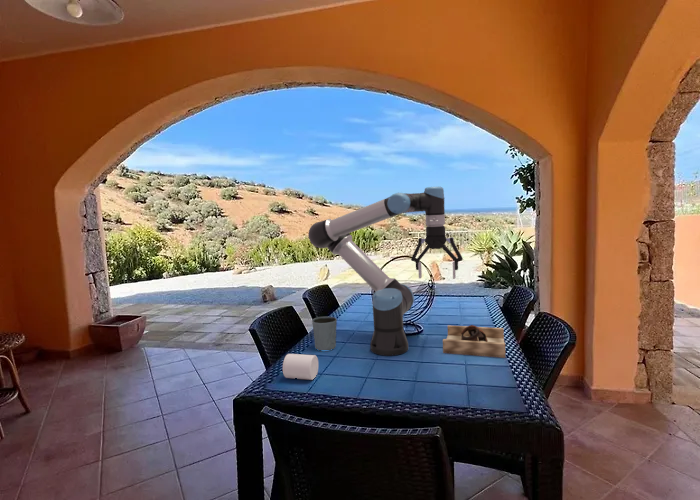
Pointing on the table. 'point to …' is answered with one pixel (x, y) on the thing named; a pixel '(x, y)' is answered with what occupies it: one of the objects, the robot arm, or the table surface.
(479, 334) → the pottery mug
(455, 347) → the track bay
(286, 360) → the white cylinder
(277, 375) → the table surface
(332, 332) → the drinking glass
